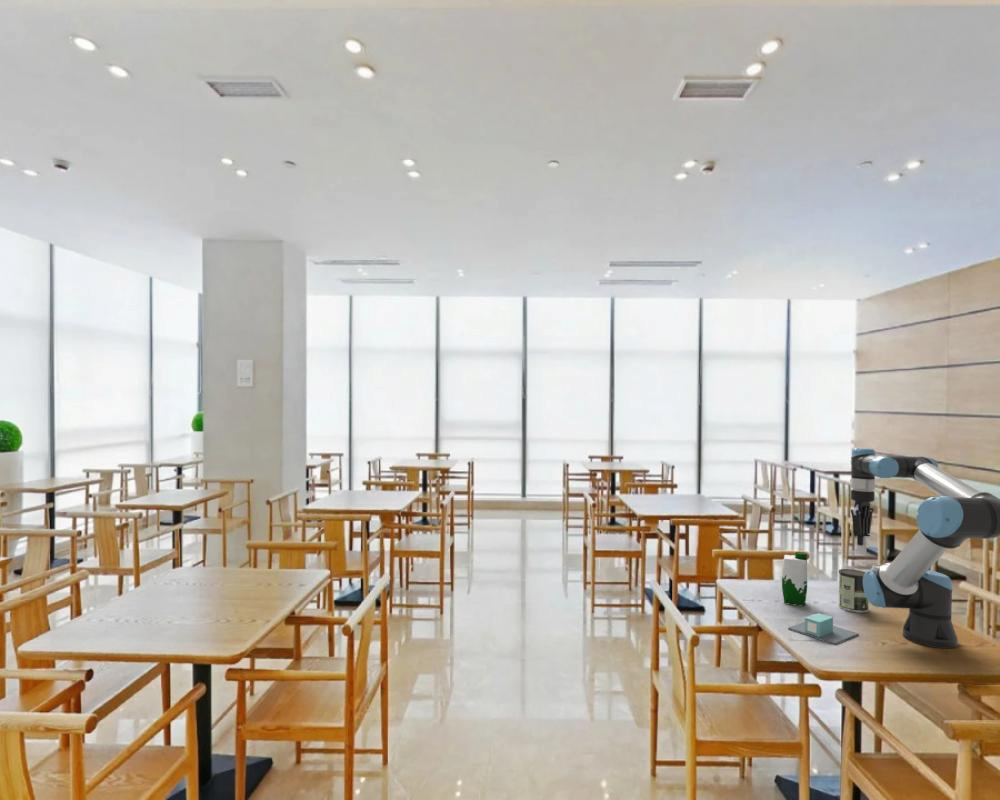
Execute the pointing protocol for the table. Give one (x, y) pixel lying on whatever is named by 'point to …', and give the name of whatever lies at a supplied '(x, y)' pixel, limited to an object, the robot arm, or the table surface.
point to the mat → (833, 637)
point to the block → (818, 624)
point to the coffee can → (852, 591)
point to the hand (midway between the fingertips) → (861, 553)
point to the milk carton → (794, 578)
